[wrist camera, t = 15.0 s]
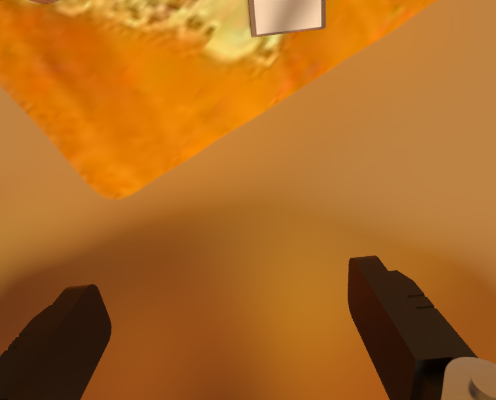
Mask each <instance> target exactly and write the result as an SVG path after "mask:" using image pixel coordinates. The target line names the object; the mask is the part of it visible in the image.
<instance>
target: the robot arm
mask: <svg viewBox="0 0 496 400" xmlns="http://www.w3.org/2000/svg"><path fill="white" fill-rule="evenodd" d="M30 1H33V2H38V3H53V2H56V1H58V0H30ZM348 305H349V310H350V313H351V316H352V319H353V321H354V323H355V325H356V327H357V329H358V332H359V334H360V336H361V338H362V340H363V343H364V345H365V347H366V349H367V351H368V353H369V355H370V358H371V360H372V362H373V364H374V366H375V368H376V371H377V373H378V375H379V377H380V379H381V382H382V384H383V386H384V388H385V390H386V393H387V395H388V397H389V399H390V400H496V364H494V363H492V362H489V361H486V360H483V359H479V358H478V357H477V356H476V355H475V354H474V353H473V352H472V350H471V349H470V348H469V347H468V345H466V343H465V342H464V341H463V339H462V338H461V337H460V336H459V335H458V334H457V332H456V331H455V330H454V329H453V328H452V326H451V325H450V324H449V323H448V322H447V321H446V319H445V318H444V317H443V316H442V314H441V313H440V312H439V311H438V310H437V309H435V308H434V305H433V304H432V303H431V301H430V300H429V299H428V298H427V297H425V295H424V293H423V292H422V291H421V289H420V288H419V287H418V286H417V285H416V284H415V282H414V281H413V280H411V279H410V278H408V277H407V276H405V275H403V274H402V273H400V272H399V271H397V270H395V271H388V270H387V269H386V267H385V266H384V265H383V263H382V262H381V261H380V259H379V258H378V257H377V256H366V257H356V258H350V260H349V272H348ZM110 336H111V321H110V318H109V315H108V313H107V310H106V307H105V305H104V303H103V300H102V297H101V294H100V292H99V290H98V287H97V286H96V285H94V284H91V285H81V286H71V287H67V288H66V289H65V290H64V291H63V292H62V293H61V294H60V295H59V297H58V298H57V299H56V300H55V302H54V303H53V304H52V305H50V306H48V307H47V308H46V309H44V310H43V311H42V312H41V313H39V314H38V315H37V316H35V317H34V318H33V319H32V320H31V321H30V322H29V323H28V324H27V326H26V327H25V328H24V329H23V330H22V332H21V333H20V334H19V337H17V338H16V339H15V340H14V341H13V342H12V344H10V346H9V347H8V350H7V351H5V352H4V353H3V354H2V355H1V356H0V400H80V399H81V397H82V395H83V393H84V391H85V389H86V387H87V385H88V383H89V381H90V379H91V377H92V375H93V373H94V371H95V369H96V367H97V365H98V362H99V361H100V358H101V356H102V354H103V352H104V350H105V348H106V346H107V344H108V342H109V340H110Z"/></svg>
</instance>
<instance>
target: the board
mask: <svg viewBox="0 0 496 400" xmlns="http://www.w3.org/2000/svg"><path fill="white" fill-rule="evenodd" d="M249 11H250V22H251V33H252V37H259V36H267V35H275V34H284V33H292V32H300V31H309V30H317V29H324V28H325V0H249Z"/></svg>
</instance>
